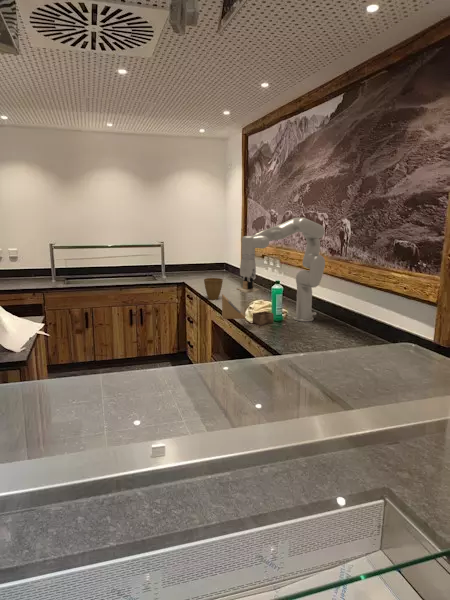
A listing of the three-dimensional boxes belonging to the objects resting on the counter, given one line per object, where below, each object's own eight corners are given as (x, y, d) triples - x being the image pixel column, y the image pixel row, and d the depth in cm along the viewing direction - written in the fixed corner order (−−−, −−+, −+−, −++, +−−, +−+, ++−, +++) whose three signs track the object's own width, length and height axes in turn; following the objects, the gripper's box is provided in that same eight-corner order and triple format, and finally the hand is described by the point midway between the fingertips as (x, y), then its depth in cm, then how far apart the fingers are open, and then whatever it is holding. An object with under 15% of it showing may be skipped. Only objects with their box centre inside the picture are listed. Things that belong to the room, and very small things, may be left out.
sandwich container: (246, 318, 271) (246, 295, 268) (223, 319, 270) (222, 296, 267) (244, 315, 280) (245, 293, 277) (222, 316, 278) (222, 293, 275)
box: (264, 320, 266) (265, 311, 265) (273, 323, 260) (273, 313, 258) (252, 322, 261) (252, 313, 259) (260, 325, 254) (260, 315, 253)
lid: (250, 289, 256) (250, 279, 255) (259, 291, 249) (259, 281, 248) (236, 291, 250) (236, 280, 249) (245, 293, 243) (245, 282, 242)
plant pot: (201, 300, 329) (200, 280, 326) (208, 296, 343) (208, 277, 340) (218, 301, 324) (218, 281, 321) (225, 298, 338) (225, 278, 334)
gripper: (234, 256, 250) (234, 286, 254) (252, 258, 236) (251, 290, 240) (245, 255, 254) (244, 285, 258) (262, 258, 241) (261, 289, 244)
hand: (248, 287), depth 249 cm, fingers closed on lid, 3 cm apart
